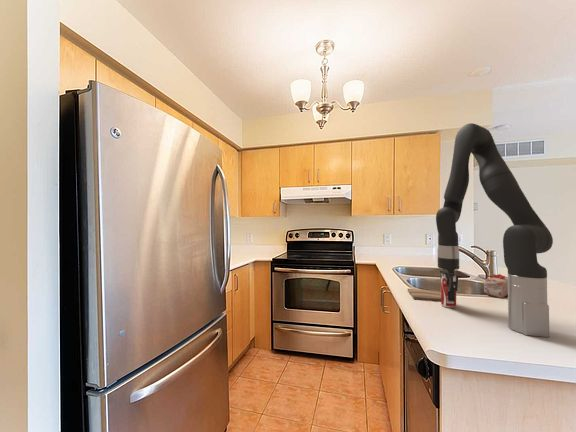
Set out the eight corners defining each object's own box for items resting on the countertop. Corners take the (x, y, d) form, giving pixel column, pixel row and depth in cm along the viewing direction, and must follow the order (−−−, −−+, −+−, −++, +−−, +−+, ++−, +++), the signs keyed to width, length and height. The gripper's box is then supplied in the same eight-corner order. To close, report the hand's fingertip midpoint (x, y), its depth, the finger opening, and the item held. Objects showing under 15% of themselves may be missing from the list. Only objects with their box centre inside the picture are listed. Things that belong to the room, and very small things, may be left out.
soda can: (442, 303, 110) (442, 274, 110) (457, 305, 106) (456, 276, 107) (440, 306, 105) (439, 276, 106) (455, 309, 102) (455, 278, 103)
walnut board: (452, 302, 111) (452, 299, 111) (414, 299, 115) (414, 296, 115) (441, 293, 126) (441, 290, 126) (407, 290, 130) (407, 288, 130)
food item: (504, 299, 116) (503, 277, 116) (482, 295, 122) (482, 274, 123) (513, 295, 124) (513, 274, 124) (492, 291, 130) (492, 271, 131)
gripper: (466, 259, 99) (466, 305, 98) (452, 255, 112) (452, 295, 112) (443, 258, 100) (444, 303, 100) (432, 254, 114) (433, 293, 114)
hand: (448, 298), depth 106 cm, fingers closed on soda can, 5 cm apart
